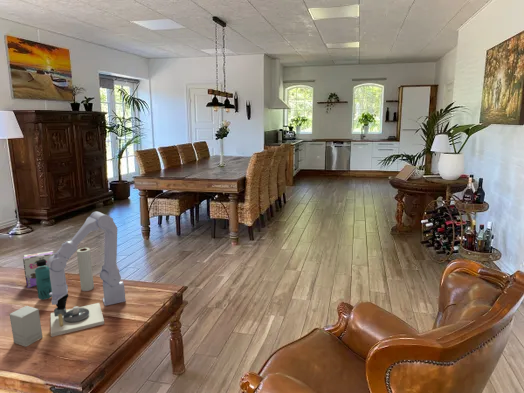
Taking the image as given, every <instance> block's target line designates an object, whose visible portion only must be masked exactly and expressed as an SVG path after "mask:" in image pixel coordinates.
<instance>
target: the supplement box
mask: <svg viewBox="0 0 524 393" xmlns="http://www.w3.org/2000/svg"><path fill="white" fill-rule="evenodd" d="M40 318H41V317H40V310H39V308H35V307H32V306H28V305H25V306H23V307H20V308H18V309H17V310H15V311H13V312H11V313H9V322H10V326H11V332H12V333H11V334H12V339H13V344H16V345H19V346H22V347H25V348H26V347H28V346H30V345H32V344H33V343H36V342H37V341H39V340H41V339H42V338H43V331H42V325H41V319H40Z"/></svg>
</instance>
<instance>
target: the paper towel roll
mask: <svg viewBox="0 0 524 393" xmlns="http://www.w3.org/2000/svg"><path fill="white" fill-rule="evenodd" d="M76 254H77V255H76V258H77V265H78V272H79V273H78V274H79V282H80V290H81V291H82V292H88V291H89V292H90V291H91V290H94V288H95V286H94V283H95V282H94V274H93V266H92V254H91V248H90V247H87V246H84V247H82V248H79V249H78V248H77V250H76Z"/></svg>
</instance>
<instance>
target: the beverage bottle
mask: <svg viewBox="0 0 524 393" xmlns="http://www.w3.org/2000/svg"><path fill="white" fill-rule="evenodd" d="M44 265H46V260H38V261H37V266H40V267H38V268H37V269H36V270H35V275H36V284H37V286H36V291H37V298H38V299H39V300H48V299H50V298H52V295H49V294H50V292H52V288H51V280H50V271H49V267H48V266H44Z"/></svg>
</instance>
